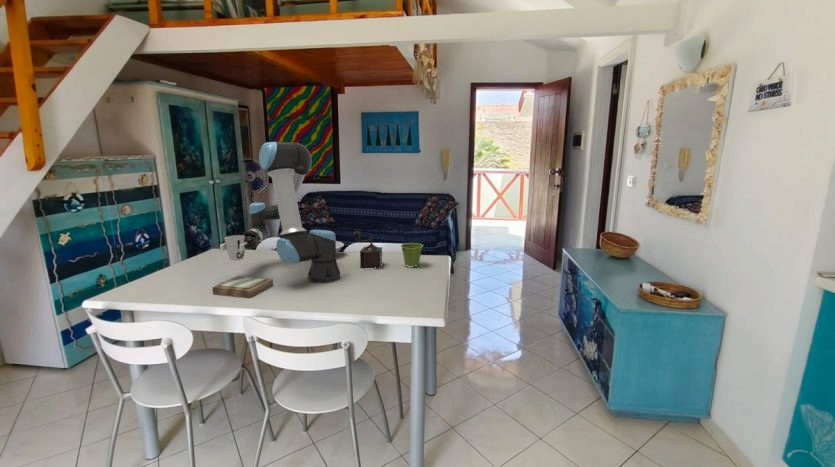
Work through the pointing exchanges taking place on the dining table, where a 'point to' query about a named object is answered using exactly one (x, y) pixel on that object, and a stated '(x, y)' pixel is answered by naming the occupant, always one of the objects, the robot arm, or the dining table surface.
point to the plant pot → (411, 253)
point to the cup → (235, 246)
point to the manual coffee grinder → (369, 254)
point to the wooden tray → (243, 286)
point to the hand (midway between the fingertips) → (230, 248)
